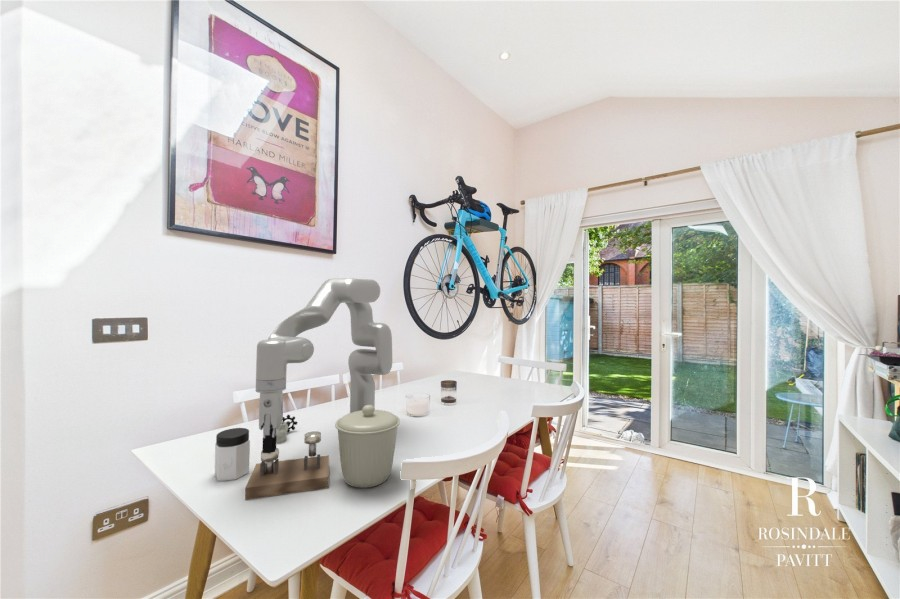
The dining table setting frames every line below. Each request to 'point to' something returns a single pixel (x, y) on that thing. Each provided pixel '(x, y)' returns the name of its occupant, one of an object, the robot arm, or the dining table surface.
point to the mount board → (289, 477)
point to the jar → (232, 454)
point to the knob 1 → (269, 460)
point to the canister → (367, 446)
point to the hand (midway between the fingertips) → (269, 451)
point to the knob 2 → (312, 441)
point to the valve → (284, 429)
